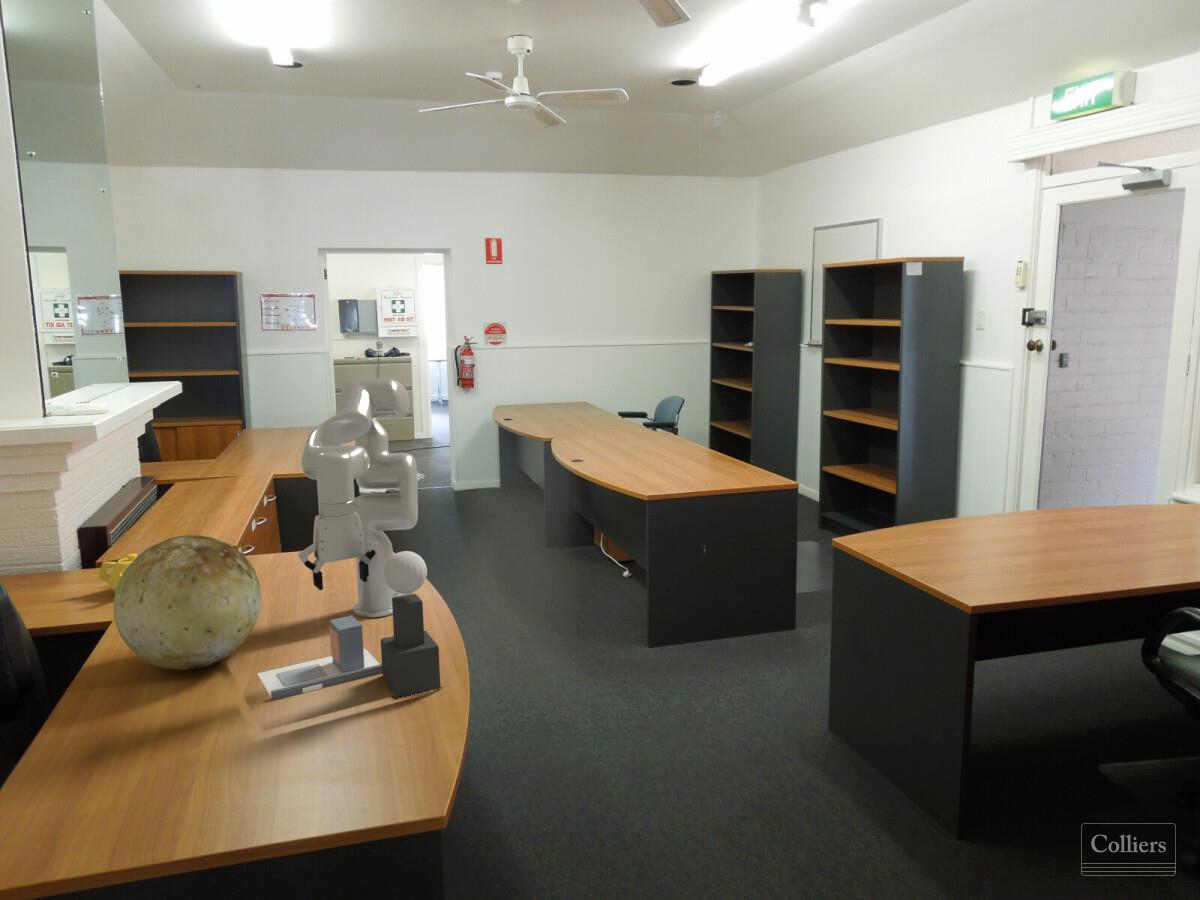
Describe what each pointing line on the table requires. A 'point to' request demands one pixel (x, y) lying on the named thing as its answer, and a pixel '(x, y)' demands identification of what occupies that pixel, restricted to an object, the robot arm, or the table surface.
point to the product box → (347, 644)
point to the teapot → (115, 570)
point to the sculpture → (408, 631)
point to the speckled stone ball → (187, 602)
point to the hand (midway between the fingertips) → (341, 584)
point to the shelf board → (313, 676)
